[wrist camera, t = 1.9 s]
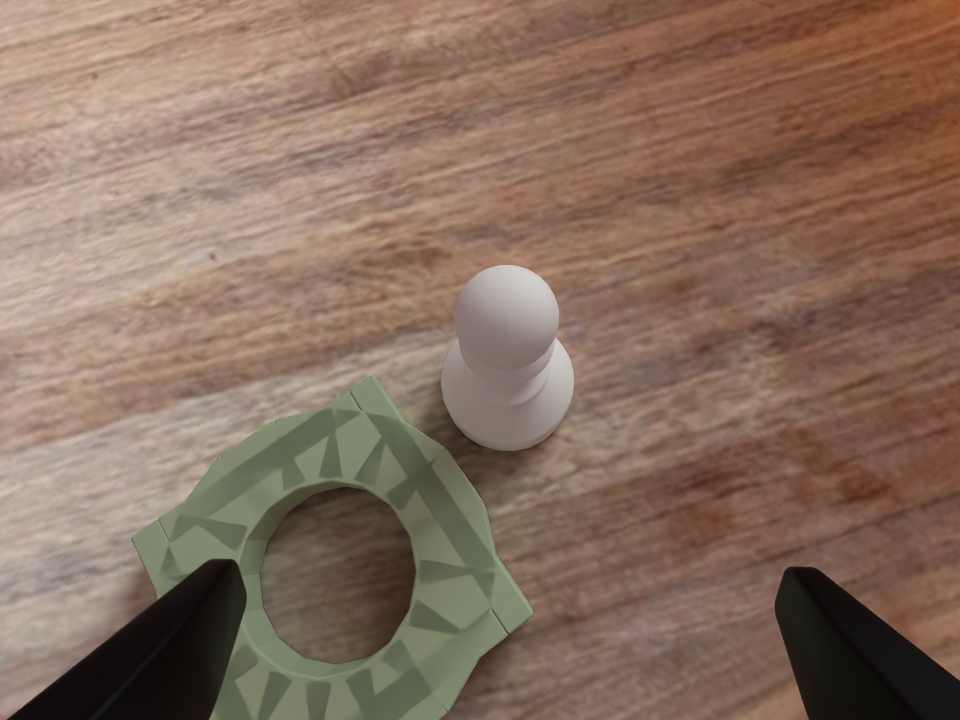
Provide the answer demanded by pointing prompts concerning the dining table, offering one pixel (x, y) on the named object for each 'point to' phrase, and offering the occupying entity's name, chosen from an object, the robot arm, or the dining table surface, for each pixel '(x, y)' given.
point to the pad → (435, 545)
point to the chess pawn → (507, 361)
